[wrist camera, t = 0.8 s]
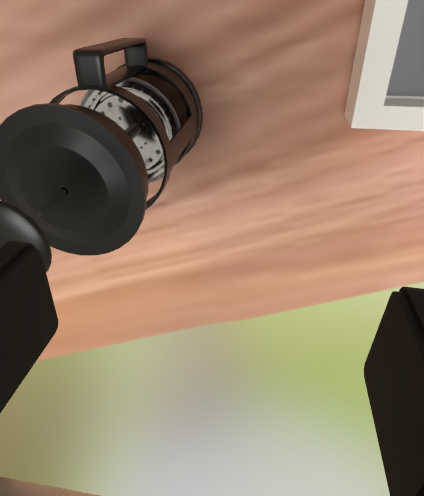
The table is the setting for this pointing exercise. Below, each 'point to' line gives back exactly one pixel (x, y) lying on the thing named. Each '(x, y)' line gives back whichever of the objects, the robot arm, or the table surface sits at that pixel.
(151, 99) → the french press
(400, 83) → the power strip
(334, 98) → the table surface
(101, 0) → the table surface
